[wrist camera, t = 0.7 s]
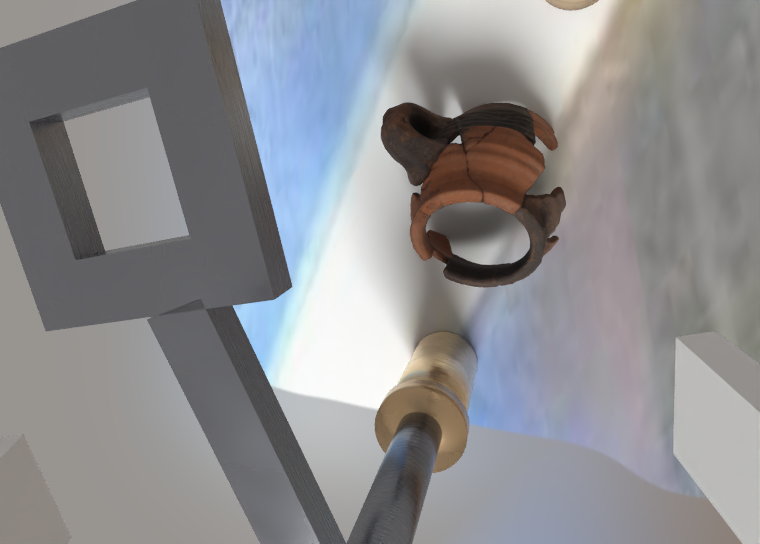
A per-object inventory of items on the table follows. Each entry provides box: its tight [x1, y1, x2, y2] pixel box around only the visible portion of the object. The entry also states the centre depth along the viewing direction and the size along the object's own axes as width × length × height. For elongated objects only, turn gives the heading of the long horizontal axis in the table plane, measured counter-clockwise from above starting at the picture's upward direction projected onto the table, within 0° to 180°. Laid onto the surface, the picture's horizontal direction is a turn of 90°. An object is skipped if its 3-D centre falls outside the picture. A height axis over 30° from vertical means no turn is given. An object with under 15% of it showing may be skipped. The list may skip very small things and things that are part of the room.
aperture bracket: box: [0, 0, 477, 544], centre depth 27 cm, size 10×22×22 cm, turn 12°
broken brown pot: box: [381, 103, 566, 287], centre depth 32 cm, size 12×10×8 cm
